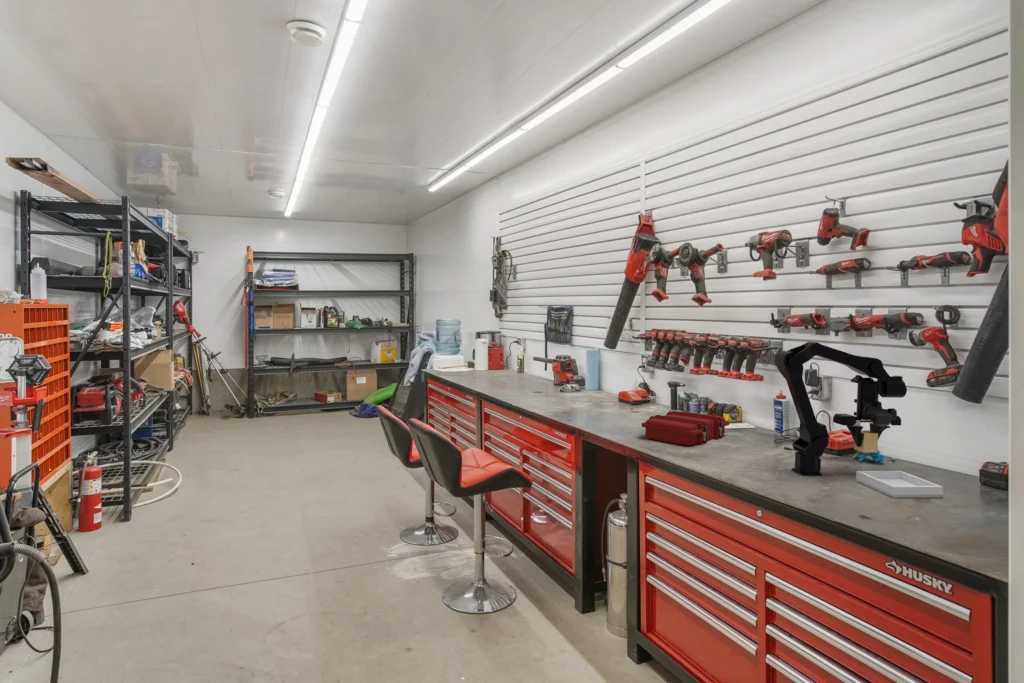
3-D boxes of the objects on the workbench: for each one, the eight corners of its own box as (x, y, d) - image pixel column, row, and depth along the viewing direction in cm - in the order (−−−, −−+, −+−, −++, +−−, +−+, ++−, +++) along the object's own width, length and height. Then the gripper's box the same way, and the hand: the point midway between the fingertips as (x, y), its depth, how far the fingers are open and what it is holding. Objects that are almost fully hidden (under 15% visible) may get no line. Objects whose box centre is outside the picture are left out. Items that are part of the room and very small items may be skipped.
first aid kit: (693, 449, 214) (693, 426, 214) (638, 439, 231) (639, 417, 230) (731, 436, 237) (731, 415, 236) (679, 428, 253) (679, 408, 253)
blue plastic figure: (892, 460, 192) (869, 439, 193) (879, 473, 192) (857, 451, 192) (871, 457, 203) (850, 436, 204) (860, 469, 203) (839, 448, 203)
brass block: (863, 452, 180) (864, 433, 179) (854, 449, 184) (854, 430, 184) (877, 452, 180) (878, 433, 180) (867, 449, 184) (868, 430, 184)
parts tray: (893, 497, 158) (893, 487, 158) (855, 480, 174) (856, 471, 174) (942, 497, 159) (943, 486, 159) (900, 480, 175) (901, 470, 175)
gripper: (855, 401, 173) (853, 453, 173) (915, 401, 174) (913, 452, 174) (832, 395, 184) (830, 444, 185) (889, 395, 185) (887, 444, 186)
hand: (865, 446), depth 182 cm, fingers closed on brass block, 4 cm apart
